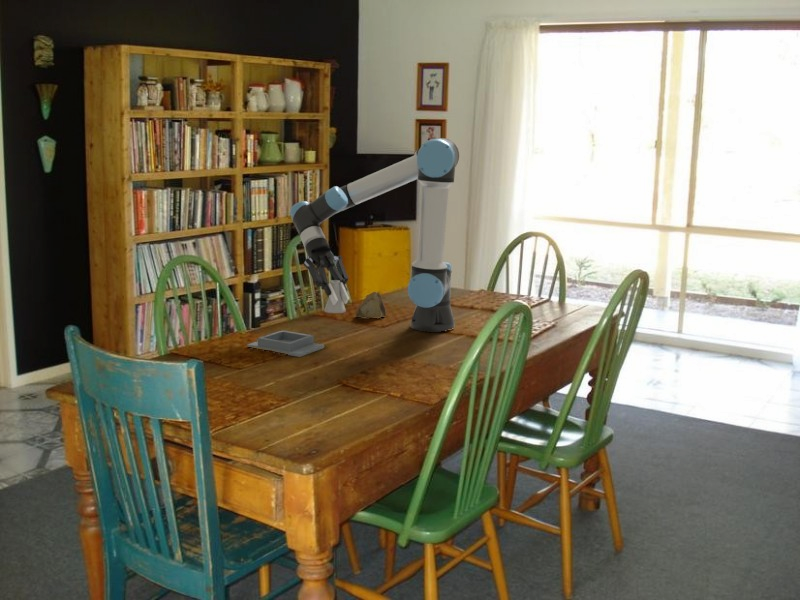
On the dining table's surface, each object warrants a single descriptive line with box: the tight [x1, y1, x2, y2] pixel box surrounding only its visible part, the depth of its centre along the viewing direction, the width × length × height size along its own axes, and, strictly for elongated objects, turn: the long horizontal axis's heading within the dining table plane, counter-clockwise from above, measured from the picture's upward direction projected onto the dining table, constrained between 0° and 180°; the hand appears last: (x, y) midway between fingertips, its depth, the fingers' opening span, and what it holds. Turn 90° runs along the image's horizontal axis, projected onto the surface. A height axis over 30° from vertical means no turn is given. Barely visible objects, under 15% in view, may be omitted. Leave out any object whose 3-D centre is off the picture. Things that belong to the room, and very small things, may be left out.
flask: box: [323, 279, 347, 314], centre depth 293 cm, size 7×7×10 cm
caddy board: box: [246, 330, 325, 358], centre depth 286 cm, size 20×13×4 cm, turn 60°
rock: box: [355, 291, 387, 318], centre depth 331 cm, size 11×9×10 cm
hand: (341, 301), depth 290 cm, fingers closed on flask, 3 cm apart
